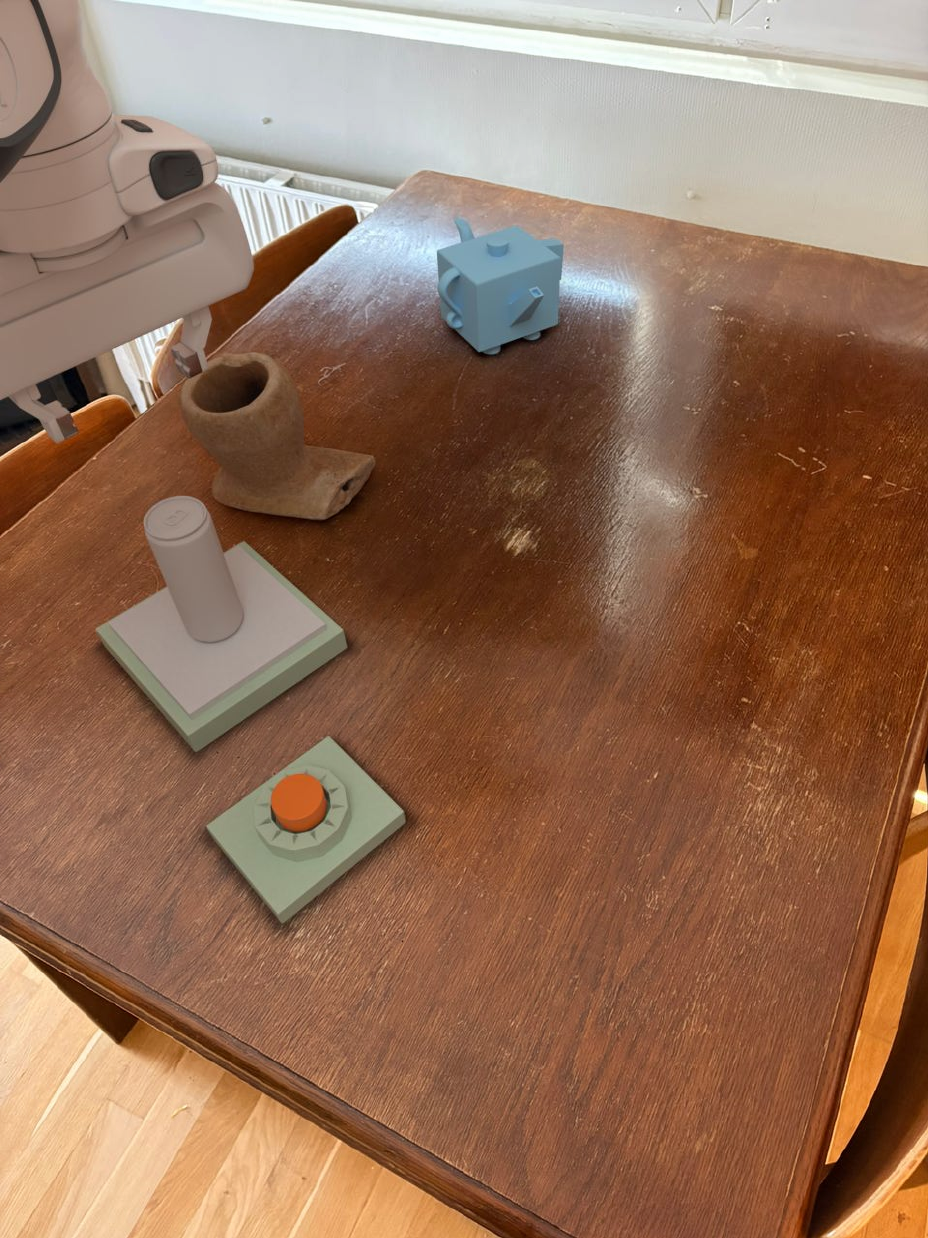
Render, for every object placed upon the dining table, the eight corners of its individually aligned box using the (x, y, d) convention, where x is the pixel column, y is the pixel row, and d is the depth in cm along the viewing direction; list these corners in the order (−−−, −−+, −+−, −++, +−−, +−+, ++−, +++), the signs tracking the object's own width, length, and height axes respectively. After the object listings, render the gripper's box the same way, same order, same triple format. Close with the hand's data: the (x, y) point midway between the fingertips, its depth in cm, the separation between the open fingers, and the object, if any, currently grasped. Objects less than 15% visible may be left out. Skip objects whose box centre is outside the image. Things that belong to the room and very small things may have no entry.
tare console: (282, 925, 60) (272, 903, 58) (211, 837, 65) (198, 813, 62) (406, 822, 65) (402, 798, 62) (332, 747, 70) (324, 721, 67)
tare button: (295, 842, 61) (290, 829, 60) (265, 808, 63) (260, 795, 62) (337, 809, 63) (333, 796, 61) (307, 776, 64) (302, 764, 63)
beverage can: (174, 630, 74) (127, 523, 65) (216, 593, 76) (176, 486, 67) (216, 655, 72) (173, 548, 63) (257, 616, 74) (221, 509, 65)
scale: (196, 753, 70) (184, 730, 67) (104, 646, 77) (91, 622, 75) (347, 647, 76) (342, 623, 74) (249, 558, 84) (241, 534, 81)
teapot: (478, 385, 100) (475, 291, 92) (406, 313, 111) (397, 223, 102) (596, 342, 105) (603, 249, 96) (515, 277, 115) (515, 188, 107)
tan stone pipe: (190, 523, 87) (142, 393, 76) (246, 448, 94) (209, 319, 83) (333, 553, 84) (305, 421, 72) (380, 472, 91) (360, 341, 80)
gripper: (-134, 277, 41) (-3, 502, 52) (239, 139, 50) (286, 356, 60) (-177, 233, 44) (-46, 453, 55) (180, 111, 53) (235, 322, 64)
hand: (131, 402), depth 58 cm, fingers open, 8 cm apart
